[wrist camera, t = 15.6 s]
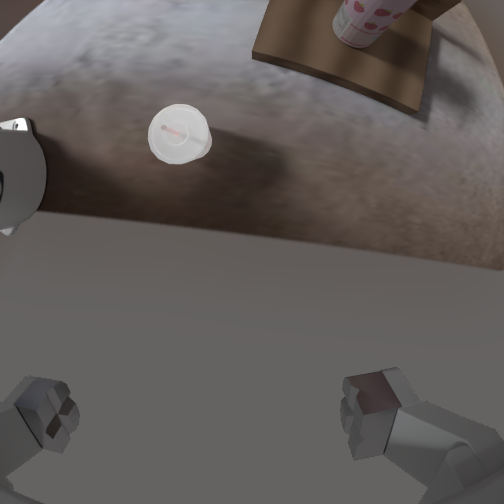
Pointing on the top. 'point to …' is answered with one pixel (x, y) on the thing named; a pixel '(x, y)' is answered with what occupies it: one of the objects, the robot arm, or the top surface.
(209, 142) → the beverage cup
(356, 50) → the walnut shelf stand
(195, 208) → the top surface
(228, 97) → the top surface
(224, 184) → the top surface
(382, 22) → the beverage can
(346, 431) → the robot arm
